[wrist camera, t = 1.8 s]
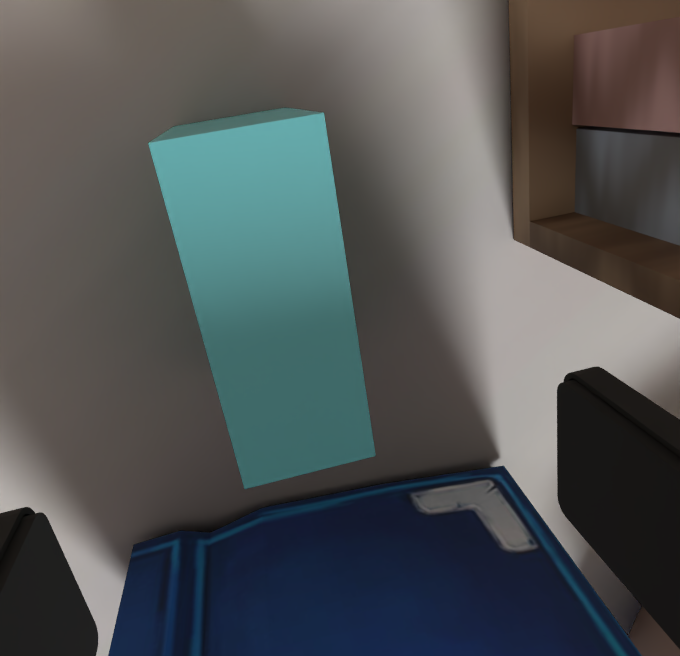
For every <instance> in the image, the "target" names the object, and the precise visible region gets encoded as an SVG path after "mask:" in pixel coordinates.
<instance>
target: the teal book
mask: <svg viewBox="0 0 680 656" xmlns="http://www.w3.org/2000/svg"><path fill="white" fill-rule="evenodd" d="M148 144H149V148H150V152H151V155H152V159H153V162H154V166H155V170H156V173H157V177H158V180H159V184H160V187H161V191H162V195H163V198H164V202H165V205H166V209H167V213H168V216H169V220H170V223H171V227H172V231H173V234H174V238H175V241H176V245H177V249H178V252H179V256H180V259H181V263H182V266H183V270H184V274H185V277H186V281H187V284H188V288H189V292H190V295H191V299H192V302H193V306H194V310H195V313H196V317H197V320H198V324H199V327H200V331H201V335H202V338H203V342H204V345H205V349H206V353H207V356H208V360H209V363H210V367H211V371H212V374H213V378H214V381H215V385H216V389H217V392H218V396H219V399H220V403H221V406H222V410H223V414H224V417H225V421H226V424H227V428H228V432H229V435H230V439H231V442H232V446H233V450H234V453H235V457H236V460H237V464H238V468H239V471H240V475H241V478H242V482H243V485H244V489H248V488H252V487H256V486H260V485H263V484H267V483H271V482H275V481H279V480H283V479H287V478H291V477H295V476H299V475H303V474H307V473H311V472H315V471H319V470H322V469H326V468H330V467H334V466H338V465H342V464H346V463H350V462H354V461H358V460H362V459H366V458H370V457H374V456H376V454H375V447H374V441H373V434H372V428H371V421H370V414H369V408H368V401H367V395H366V388H365V381H364V375H363V368H362V361H361V355H360V348H359V342H358V335H357V328H356V322H355V315H354V309H353V302H352V295H351V289H350V282H349V275H348V269H347V262H346V256H345V249H344V242H343V236H342V229H341V223H340V216H339V209H338V203H337V196H336V189H335V183H334V176H333V170H332V163H331V156H330V150H329V143H328V137H327V130H326V123H325V117H324V113H322V112H315V111H308V110H301V109H294V108H286V107H285V108H279V109H273V110H267V111H261V112H255V113H249V114H244V115H238V116H232V117H226V118H220V119H214V120H208V121H202V122H196V123H190V124H184V125H179V126H173V127H172V128H170V129H169V130H167V131H166V132H164V133H163V134H161V135H160V136H158V137H157V138H155V139H153V140H152V141H150V142H149V143H148Z"/></svg>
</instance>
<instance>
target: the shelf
mask: <svg viewBox="0 0 680 656" xmlns="http://www.w3.org/2000/svg"><path fill="white" fill-rule="evenodd" d="M509 37H510V84H511V130H512V176H513V222H514V240H516V241H518V242H520V243H522V244H524V245H526V246H528V247H531V248H533V249H535V250H537V251H539V252H541V253H543V254H545V255H547V256H549V257H552V258H554V259H556V260H558V261H560V262H562V263H564V264H566V265H568V266H570V267H572V268H575V269H577V270H579V271H581V272H583V273H585V274H587V275H589V276H591V277H593V278H596V279H598V280H600V281H602V282H604V283H606V284H608V285H610V286H612V287H614V288H617V289H619V290H621V291H623V292H625V293H627V294H629V295H631V296H633V297H635V298H637V299H640V300H642V301H644V302H646V303H648V304H650V305H652V306H654V307H656V308H658V309H661V310H663V311H665V312H667V313H669V314H671V315H673V316H675V317H677V318H679V319H680V0H509Z"/></svg>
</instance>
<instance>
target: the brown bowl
mask: <svg viewBox="0 0 680 656" xmlns="http://www.w3.org/2000/svg"><path fill="white" fill-rule="evenodd" d="M629 638H630V640H631V641H632V643H633V644H634V645H635V647H636V648H637V649H638V651H639V652H640V654H641V655H642V656H680V649H679V648H678V647H677V646H676V645H675V643H674V642H673V641H672V640H671V639H670V638H669V636H668V635H667V634H666V633H665V632H664V631H663V629H662V628H661V627H660V626H659V625H658V624H657V622H656V621H655V620H654V619H653V618H652V617H651V615H650V614H649V613H648V612H647V611H646V610H645V608H644V607H643V606H642V607H641V609H640V611H639V613H638V615H637V618H636V620H635V622H634V624H633V626H632V628H631V630H630V632H629Z"/></svg>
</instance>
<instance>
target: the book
mask: <svg viewBox="0 0 680 656" xmlns="http://www.w3.org/2000/svg"><path fill="white" fill-rule="evenodd" d="M108 656H642V655H641V654H640V652H639V651H638V649H637V648H636V647H635V645H634V644H633V643H632V641H631V640H630V638H629V637H628V636H627V634H626V633H625V632H624V630H623V629H622V627H621V626H620V625H619V623H618V622H617V621H616V619H615V618H614V617H613V615H612V614H611V612H610V611H609V610H608V608H607V607H606V606H605V604H604V603H603V601H602V600H601V599H600V597H599V596H598V595H597V593H596V592H595V590H594V589H593V588H592V586H591V585H590V584H589V582H588V581H587V579H586V578H585V577H584V575H583V574H582V573H581V571H580V570H579V568H578V567H577V566H576V564H575V563H574V562H573V560H572V559H571V557H570V556H569V555H568V553H567V552H566V551H565V549H564V548H563V546H562V545H561V544H560V542H559V541H558V540H557V538H556V537H555V535H554V534H553V533H552V531H551V530H550V529H549V527H548V526H547V524H546V523H545V522H544V520H543V519H542V518H541V516H540V515H539V513H538V512H537V511H536V509H535V508H534V507H533V505H532V504H531V503H530V501H529V500H528V498H527V497H526V496H525V494H524V493H523V492H522V490H521V489H520V487H519V486H518V485H517V483H516V482H515V481H514V479H513V478H512V476H511V475H510V474H509V472H508V471H507V470H506V468H505V467H504V466H499V467H492V468H485V469H479V470H472V471H465V472H459V473H452V474H445V475H439V476H432V477H425V478H419V479H412V480H405V481H399V482H392V483H386V484H381V485H376V486H371V487H366V488H361V489H355V490H350V491H345V492H340V493H335V494H330V495H325V496H320V497H315V498H310V499H305V500H300V501H295V502H290V503H285V504H280V505H274V506H269V507H264V508H261V509H259V510H257V511H255V512H252V513H250V514H248V515H246V516H244V517H242V518H240V519H238V520H236V521H234V522H232V523H230V524H228V525H226V526H224V527H221V528H219V529H217V530H215V531H213V532H211V533H208V532H194V531H178V532H174V533H171V534H168V535H164V536H161V537H158V538H154V539H151V540H148V541H144V542H141V543H138V544H134V545H133V550H132V554H131V558H130V563H129V567H128V572H127V576H126V580H125V585H124V589H123V594H122V598H121V602H120V607H119V611H118V616H117V620H116V624H115V629H114V633H113V638H112V642H111V646H110V651H109V655H108Z"/></svg>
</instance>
